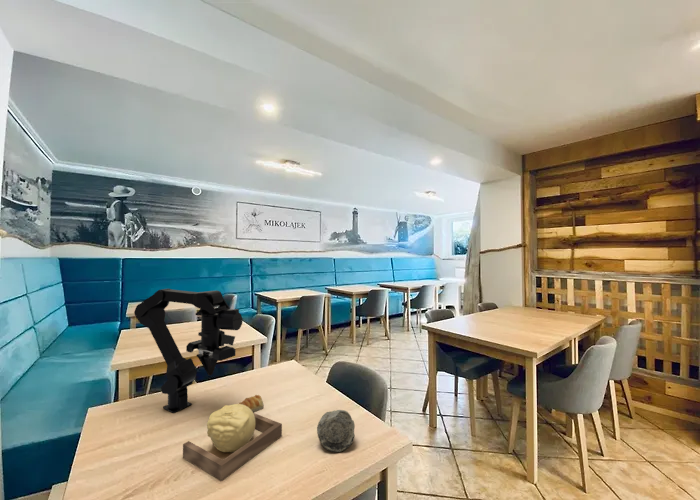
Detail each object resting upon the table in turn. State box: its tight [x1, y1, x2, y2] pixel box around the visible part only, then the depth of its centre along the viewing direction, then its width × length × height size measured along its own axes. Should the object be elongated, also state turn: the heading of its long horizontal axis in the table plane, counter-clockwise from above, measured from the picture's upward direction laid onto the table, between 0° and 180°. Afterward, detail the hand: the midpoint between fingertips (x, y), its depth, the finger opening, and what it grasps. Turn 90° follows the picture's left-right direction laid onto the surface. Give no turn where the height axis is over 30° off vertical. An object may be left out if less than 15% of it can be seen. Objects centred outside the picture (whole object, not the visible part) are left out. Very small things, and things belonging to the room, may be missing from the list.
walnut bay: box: [182, 412, 283, 482], centre depth 82 cm, size 16×20×4 cm
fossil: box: [316, 409, 356, 453], centre depth 85 cm, size 11×9×10 cm
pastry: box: [238, 394, 264, 413], centre depth 101 cm, size 9×7×4 cm
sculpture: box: [206, 403, 256, 453], centre depth 83 cm, size 11×12×11 cm
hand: (210, 375), depth 100 cm, fingers closed
